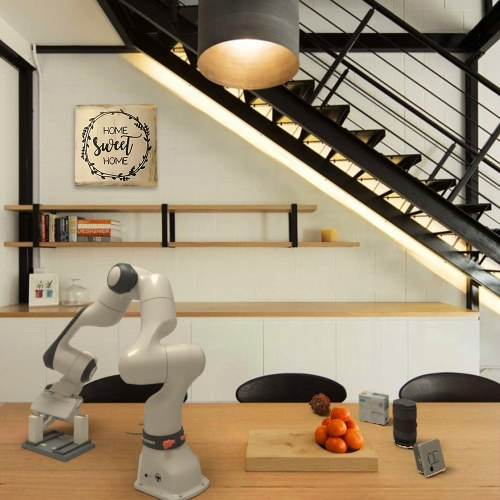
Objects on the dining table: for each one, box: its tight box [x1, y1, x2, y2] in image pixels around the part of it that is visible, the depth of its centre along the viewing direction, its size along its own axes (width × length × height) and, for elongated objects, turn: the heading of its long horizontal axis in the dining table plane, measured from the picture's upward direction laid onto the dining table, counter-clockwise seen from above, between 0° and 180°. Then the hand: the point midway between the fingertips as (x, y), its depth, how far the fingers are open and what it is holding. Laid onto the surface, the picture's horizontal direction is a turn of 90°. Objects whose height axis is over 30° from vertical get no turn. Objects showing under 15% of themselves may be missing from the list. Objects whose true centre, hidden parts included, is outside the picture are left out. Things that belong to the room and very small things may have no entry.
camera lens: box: [391, 398, 418, 447], centre depth 149 cm, size 8×8×15 cm
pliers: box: [125, 423, 144, 436], centre depth 160 cm, size 10×1×20 cm
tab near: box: [73, 412, 89, 445], centre depth 145 cm, size 4×3×10 cm
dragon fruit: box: [308, 392, 331, 416], centre depth 179 cm, size 8×8×12 cm
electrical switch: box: [412, 437, 447, 476], centre depth 131 cm, size 9×5×9 cm, turn 121°
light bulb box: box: [358, 390, 390, 426], centre depth 170 cm, size 11×7×11 cm, turn 58°
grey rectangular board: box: [21, 428, 96, 463], centre depth 145 cm, size 22×12×2 cm, turn 62°
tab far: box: [27, 411, 44, 443], centre depth 145 cm, size 4×3×10 cm
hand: (41, 429), depth 147 cm, fingers closed, pressing on tab far
